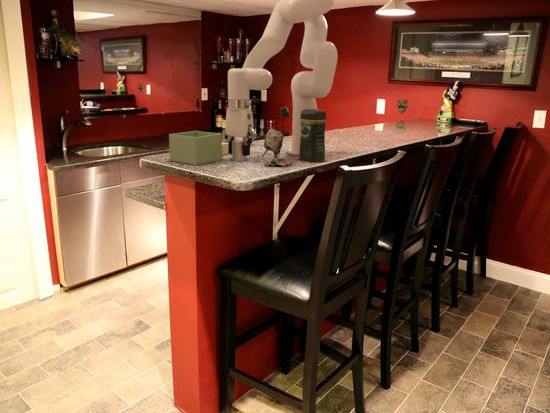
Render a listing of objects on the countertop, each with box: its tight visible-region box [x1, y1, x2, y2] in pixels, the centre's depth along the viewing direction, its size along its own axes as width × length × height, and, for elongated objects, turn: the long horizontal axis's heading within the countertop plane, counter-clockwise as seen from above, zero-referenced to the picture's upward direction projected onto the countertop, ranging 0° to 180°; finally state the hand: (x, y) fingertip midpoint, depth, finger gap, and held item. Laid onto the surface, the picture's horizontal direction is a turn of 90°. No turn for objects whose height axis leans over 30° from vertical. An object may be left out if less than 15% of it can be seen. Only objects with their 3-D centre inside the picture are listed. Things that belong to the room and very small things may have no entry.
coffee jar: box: [298, 108, 327, 163], centre depth 163 cm, size 10×8×19 cm
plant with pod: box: [261, 106, 293, 167], centre depth 154 cm, size 8×11×20 cm
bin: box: [168, 130, 223, 166], centre depth 161 cm, size 13×13×10 cm
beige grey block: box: [222, 141, 230, 156], centre depth 177 cm, size 5×5×4 cm
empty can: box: [231, 140, 247, 162], centre depth 164 cm, size 5×5×7 cm
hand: (239, 154), depth 164 cm, fingers open, 6 cm apart
